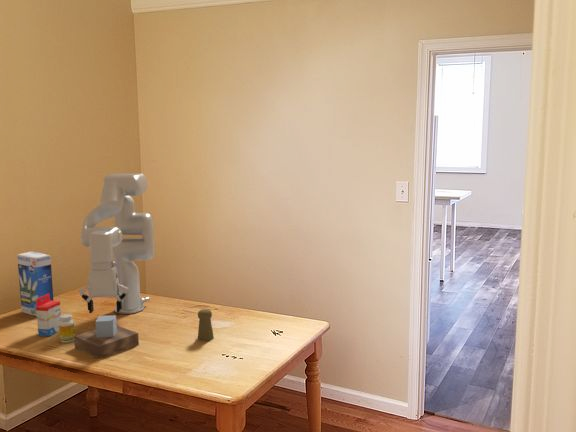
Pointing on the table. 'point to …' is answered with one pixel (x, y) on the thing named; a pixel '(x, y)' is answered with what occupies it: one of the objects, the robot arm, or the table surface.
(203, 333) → the cork
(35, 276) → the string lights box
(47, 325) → the ink box
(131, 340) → the walnut block
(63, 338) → the supplement bottle
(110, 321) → the blue cube
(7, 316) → the table surface
